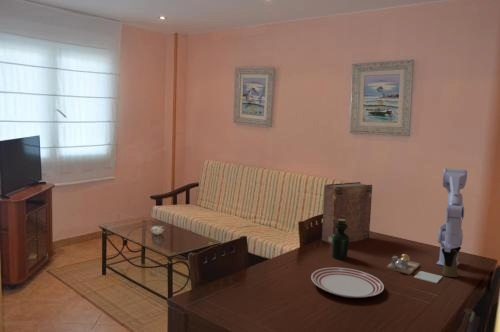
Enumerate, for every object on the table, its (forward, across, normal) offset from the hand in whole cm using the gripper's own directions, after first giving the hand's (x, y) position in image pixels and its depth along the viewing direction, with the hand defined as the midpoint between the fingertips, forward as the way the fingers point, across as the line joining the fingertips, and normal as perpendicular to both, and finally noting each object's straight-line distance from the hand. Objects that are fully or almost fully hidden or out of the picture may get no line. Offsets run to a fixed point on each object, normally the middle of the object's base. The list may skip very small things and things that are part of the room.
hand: (450, 264), depth 179 cm
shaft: (+3, +7, -18) cm, 20 cm away
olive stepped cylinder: (+4, 0, 0) cm, 5 cm away
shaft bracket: (+5, +4, -18) cm, 19 cm away
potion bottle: (+5, +12, -45) cm, 47 cm away
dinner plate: (+5, +42, -27) cm, 50 cm away
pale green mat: (+5, +9, -6) cm, 12 cm away
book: (+5, -15, -55) cm, 58 cm away
